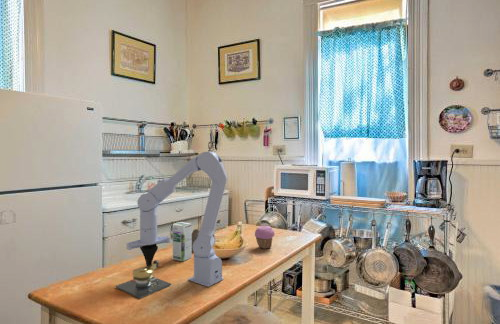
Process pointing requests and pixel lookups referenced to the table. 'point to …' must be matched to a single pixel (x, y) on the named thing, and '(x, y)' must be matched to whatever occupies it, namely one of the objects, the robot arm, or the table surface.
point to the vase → (194, 235)
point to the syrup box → (182, 241)
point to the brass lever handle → (145, 271)
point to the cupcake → (264, 236)
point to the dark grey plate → (143, 286)
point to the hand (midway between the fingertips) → (148, 266)
